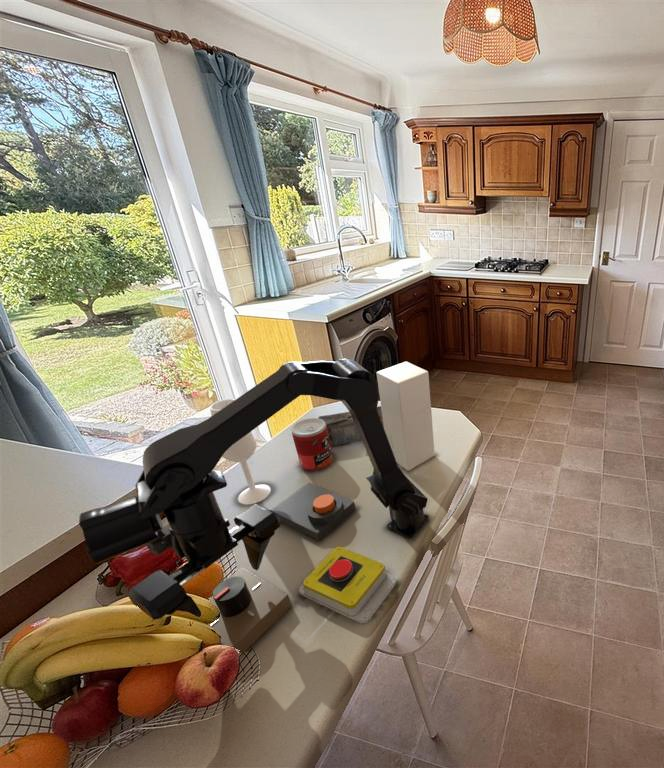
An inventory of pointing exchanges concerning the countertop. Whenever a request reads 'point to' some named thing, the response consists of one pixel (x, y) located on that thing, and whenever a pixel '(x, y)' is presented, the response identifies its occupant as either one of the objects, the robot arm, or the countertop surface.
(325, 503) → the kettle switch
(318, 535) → the emergency button base
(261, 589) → the dial console
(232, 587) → the knob
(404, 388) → the tall white carton
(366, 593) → the emergency button
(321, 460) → the canned food
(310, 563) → the countertop surface
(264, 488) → the champagne flute
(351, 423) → the beverage carton
